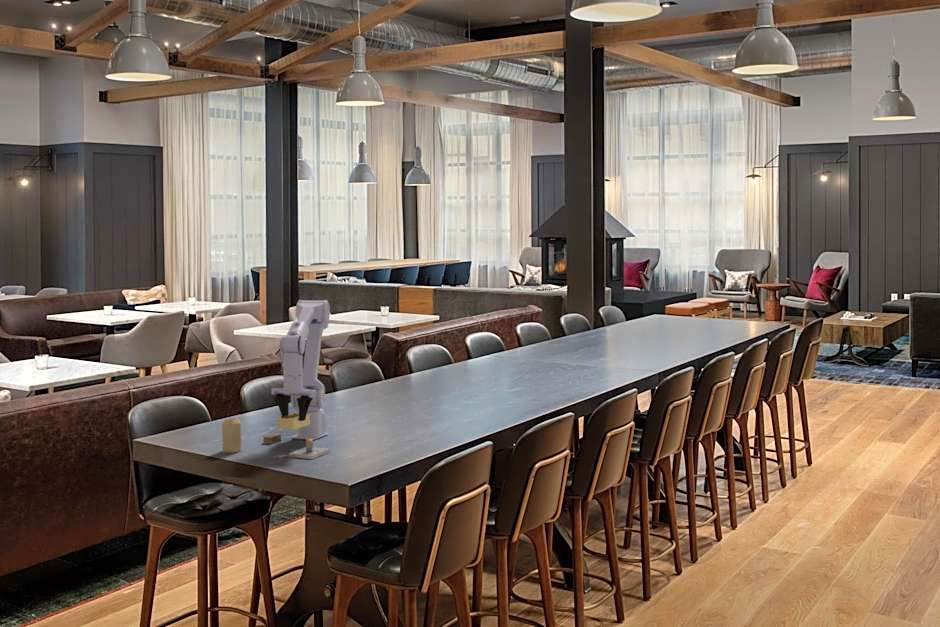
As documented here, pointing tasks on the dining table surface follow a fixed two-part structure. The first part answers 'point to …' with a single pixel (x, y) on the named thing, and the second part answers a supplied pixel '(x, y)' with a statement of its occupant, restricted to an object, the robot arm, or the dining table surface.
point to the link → (292, 421)
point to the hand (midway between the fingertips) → (293, 419)
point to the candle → (231, 435)
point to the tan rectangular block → (272, 438)
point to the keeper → (309, 451)
